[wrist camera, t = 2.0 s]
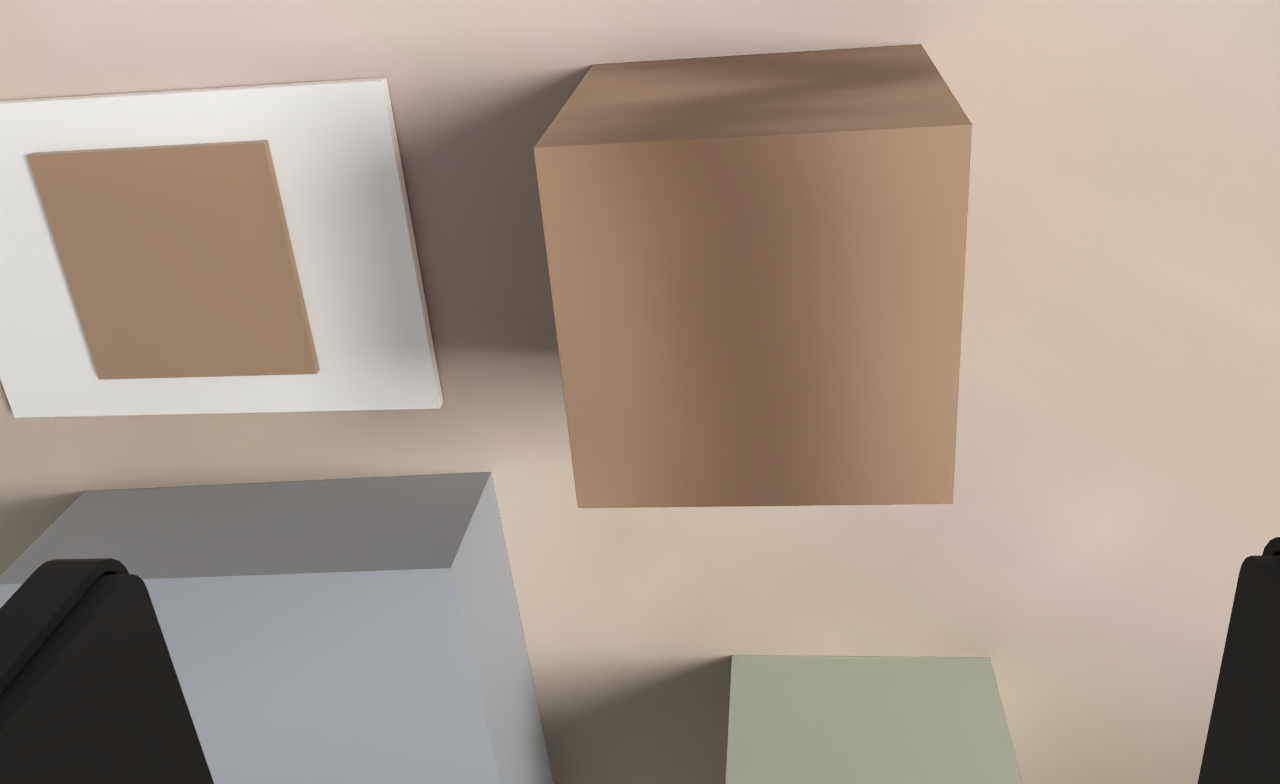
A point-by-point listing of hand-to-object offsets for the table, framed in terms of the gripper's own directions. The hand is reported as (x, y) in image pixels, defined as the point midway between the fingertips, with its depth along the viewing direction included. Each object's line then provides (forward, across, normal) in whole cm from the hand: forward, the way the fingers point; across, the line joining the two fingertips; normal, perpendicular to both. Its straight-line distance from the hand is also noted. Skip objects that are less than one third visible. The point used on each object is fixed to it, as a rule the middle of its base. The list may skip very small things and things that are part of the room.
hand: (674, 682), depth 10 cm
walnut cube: (+14, -1, 0) cm, 14 cm away
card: (+14, +11, +1) cm, 18 cm away
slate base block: (+14, +10, +11) cm, 21 cm away
